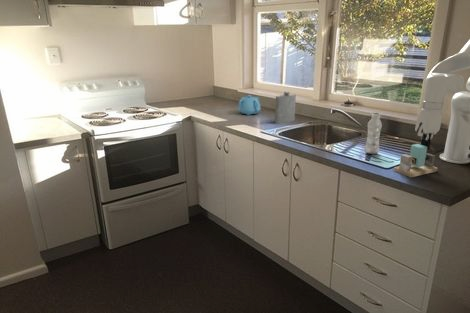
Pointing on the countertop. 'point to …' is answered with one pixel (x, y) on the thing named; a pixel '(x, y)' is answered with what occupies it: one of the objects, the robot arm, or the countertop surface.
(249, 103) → the decorative pot
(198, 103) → the countertop surface
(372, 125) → the plastic bottle
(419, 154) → the sleeve
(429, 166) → the cord board
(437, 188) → the countertop surface
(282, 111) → the hip flask
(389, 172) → the countertop surface
